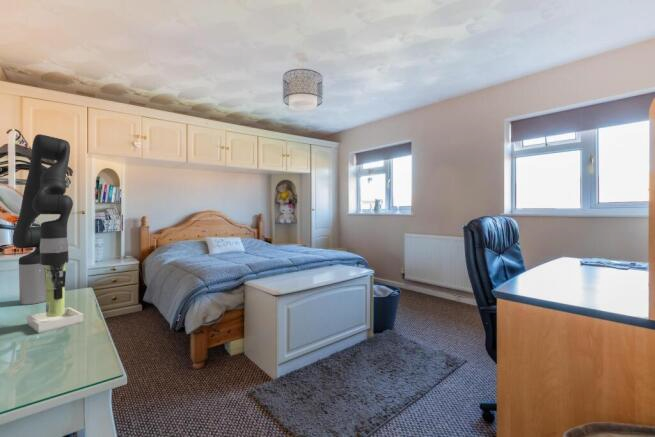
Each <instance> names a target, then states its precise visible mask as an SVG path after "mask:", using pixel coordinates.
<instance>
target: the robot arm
mask: <svg viewBox="0 0 655 437" xmlns="http://www.w3.org/2000/svg"><path fill="white" fill-rule="evenodd" d="M30 153H31V154H30V161H29V168H28V174H27V178H26V181H25V185H24V190H23V195H22V201H21V205H20V211H19V214H18V218H17V221H16V224H15V226H14V230H13V234H12V244H13V246H14V247H15V248H16V249H32V248H34V250H33V251H32V252H30V253H28V254H26V255H23V256H20V257H19V259H18V280H19V281H18V289H19V305H34V304H40V303H43V302H46V272H47V273H48V274H49V276H50V281H51V283H53V288H54V299H55V300H57V299H62V288H63V287H65V288H66V278H67V277H66V276H67V275H66V273H67V272H66V270H65V271H62V266H61V265H62V264H63V263H65V262H66V264H68V263H69V262H70V261H69V241H68V222H69V218H70V215H71V212H72V210H73V207H74V206H73V205H74V201H73V199H72V197H70V196H69V195H67V194H66V193H67V192H66V191H67V171H68V165H69V161H70V156H71V155H70V153H71V145H70V143H69V141H67V140H66V139H62V138H58V137H54V136H50V135H45V134H41V133H39V134H36V135H35V136H34V138H33V141H32V145H31V152H30ZM42 159H45V160H49V161H50V160H51V161H55V163H54V164H52V165H50V166H49V167H47V168H46V169H44V166H43V162H42ZM40 215H59V217H58V218H57V219H54V220H48V221H43V222H42V223H40V226H32V224H33V222H34V221H35V220H36V219H37V218H39V216H40ZM45 265H50V269H51V270H46V269H45ZM54 279H55V280H54ZM58 282H60V284H58Z"/></svg>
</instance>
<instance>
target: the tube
mask: <svg viewBox="0 0 655 437" xmlns="http://www.w3.org/2000/svg"><path fill="white" fill-rule="evenodd" d="M66 264H67V263H66V262H65V263H63V264H62V265H61V266H62V271H66V266H67V265H66ZM45 269H46V270H51V269H50V265H45ZM54 280H55V279H54ZM58 284H60V282H58ZM65 288H66V286H65V287H63V288H62V299H57V300H55V299H54V288H53V283H51V281H50V276H49V274H48V273H47V272H46V301H45V312H46V317H57V316H61V315H63V314H64V313H65V308H66V307H65V306H66V304H65V298H66V297H65V296H66V292H65V290H66V289H65Z"/></svg>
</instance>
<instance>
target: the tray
mask: <svg viewBox="0 0 655 437" xmlns="http://www.w3.org/2000/svg"><path fill="white" fill-rule="evenodd" d="M84 319H85V318H84V313H82V312H80V311H78V310H76V309H74V308H72V307H69V306H68V307H65V313H64V314H63V315H61V316H57V317H46V311H44V312H40V313H34V314H31V315H26V320H27V321H26V322H27V323H26V324H27V325H28V326H29V327H30V328H31V329H33V330H34V331H35V332H37V333H38V334H41V333H42V334H43V333H48V332H51V331H55V330H58V329H63V328H67V327H71V326H75V325H78V324H79V325H80V324H83V323H84V322H85V321H84Z"/></svg>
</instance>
